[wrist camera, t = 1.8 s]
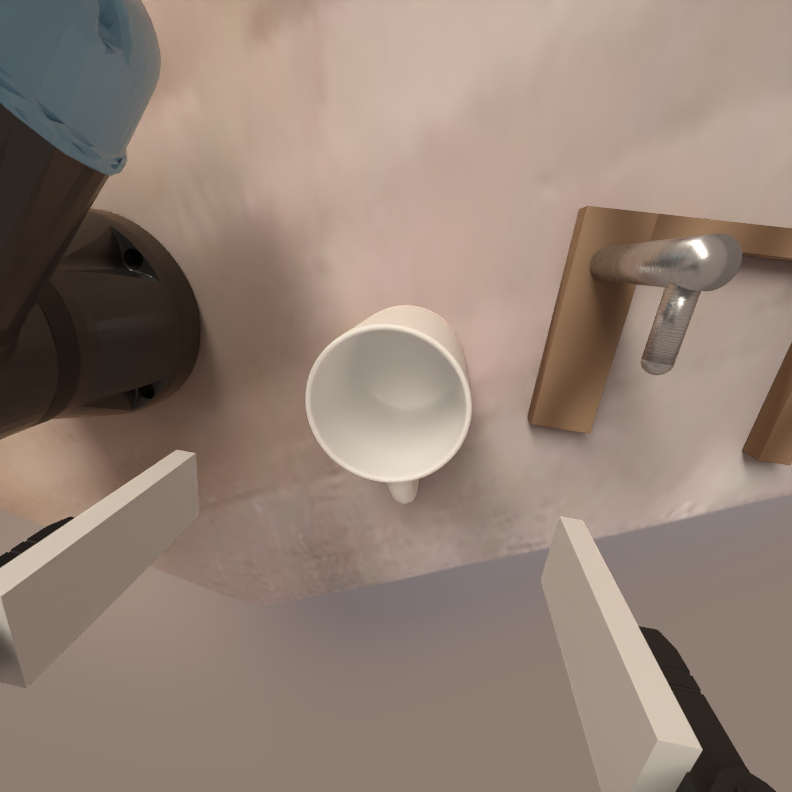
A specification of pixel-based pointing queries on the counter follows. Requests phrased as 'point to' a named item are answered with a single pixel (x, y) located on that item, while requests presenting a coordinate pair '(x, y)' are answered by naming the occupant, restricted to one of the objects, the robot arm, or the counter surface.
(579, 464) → the counter surface
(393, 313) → the mug
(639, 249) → the hook post
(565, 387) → the brown wooden u-shaped piece
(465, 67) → the counter surface
